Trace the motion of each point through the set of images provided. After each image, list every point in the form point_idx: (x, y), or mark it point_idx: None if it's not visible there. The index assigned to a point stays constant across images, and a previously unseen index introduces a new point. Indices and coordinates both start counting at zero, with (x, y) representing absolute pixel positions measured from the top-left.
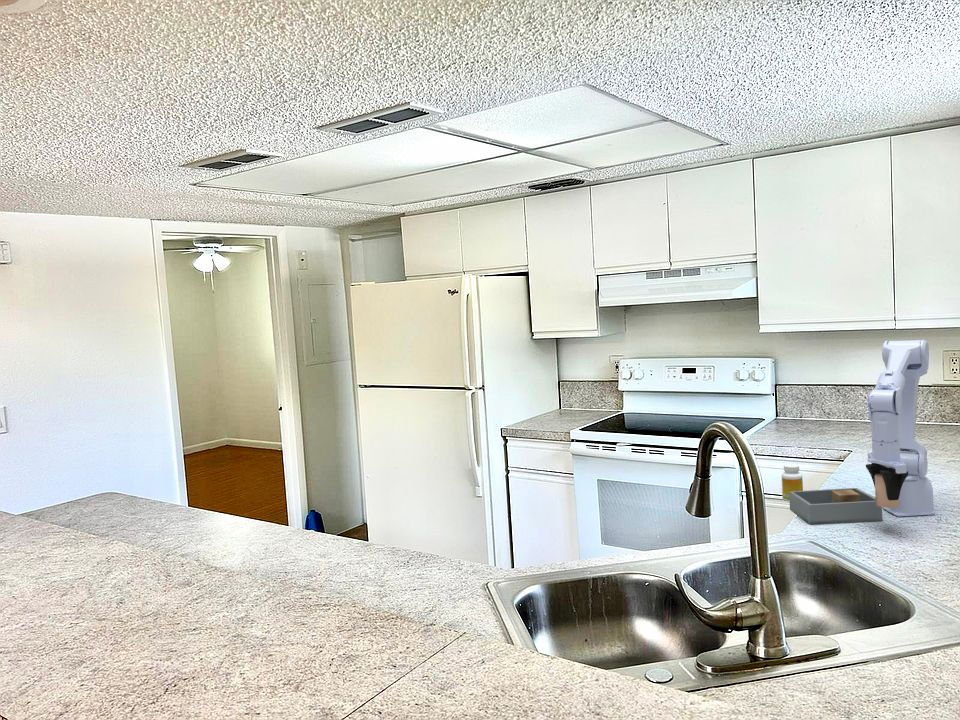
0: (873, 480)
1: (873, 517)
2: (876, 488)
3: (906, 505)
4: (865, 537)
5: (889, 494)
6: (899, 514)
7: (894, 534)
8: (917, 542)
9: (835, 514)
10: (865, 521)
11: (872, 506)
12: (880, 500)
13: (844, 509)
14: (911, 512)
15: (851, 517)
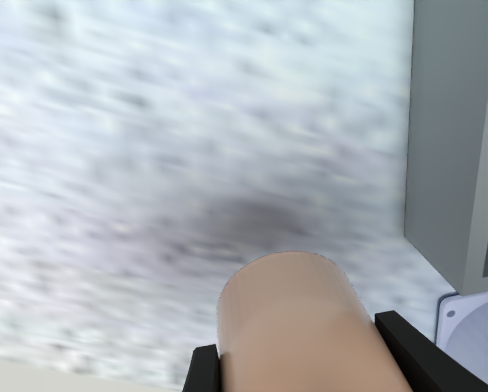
0: (466, 388)
1: (415, 210)
2: (304, 349)
3: (472, 361)
4: (153, 99)
5: (184, 390)
6: (448, 311)
7: (207, 235)
8: (97, 288)
9: (446, 4)
10: (408, 167)
11: (450, 236)
12: (248, 296)
13: (459, 71)
14: (449, 351)
15: (426, 104)
